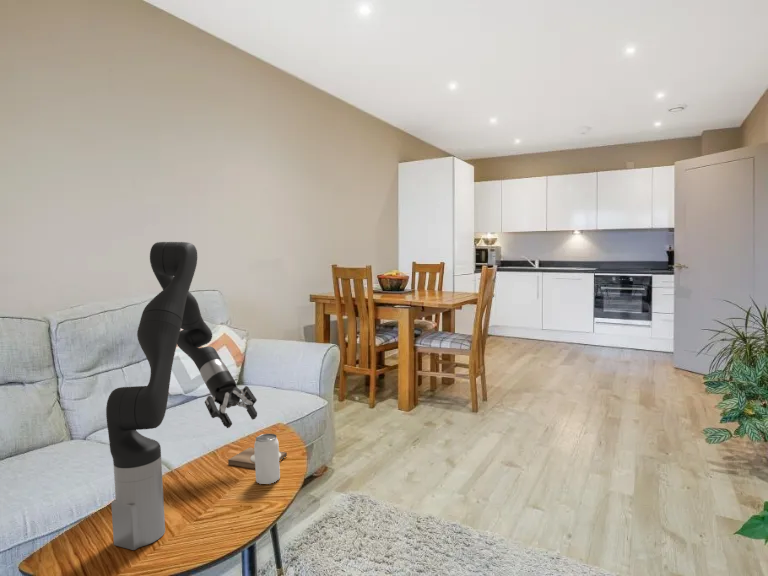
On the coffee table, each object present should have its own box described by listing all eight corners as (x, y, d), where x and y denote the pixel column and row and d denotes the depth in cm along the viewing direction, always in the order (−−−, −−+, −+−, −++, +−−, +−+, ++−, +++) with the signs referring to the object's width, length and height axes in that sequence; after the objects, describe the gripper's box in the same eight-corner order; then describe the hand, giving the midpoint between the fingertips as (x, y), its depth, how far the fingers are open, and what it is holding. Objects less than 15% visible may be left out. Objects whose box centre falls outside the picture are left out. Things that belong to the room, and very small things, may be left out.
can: (270, 487, 124) (268, 442, 124) (250, 483, 127) (248, 439, 126) (284, 476, 130) (283, 434, 129) (266, 473, 133) (264, 431, 132)
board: (268, 470, 134) (268, 464, 134) (228, 464, 140) (228, 458, 140) (288, 457, 144) (287, 451, 144) (249, 451, 149) (249, 446, 149)
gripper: (200, 375, 133) (226, 421, 127) (242, 365, 144) (268, 407, 138) (191, 390, 136) (215, 436, 130) (233, 380, 148) (257, 422, 141)
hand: (242, 421), depth 134 cm, fingers open, 8 cm apart
